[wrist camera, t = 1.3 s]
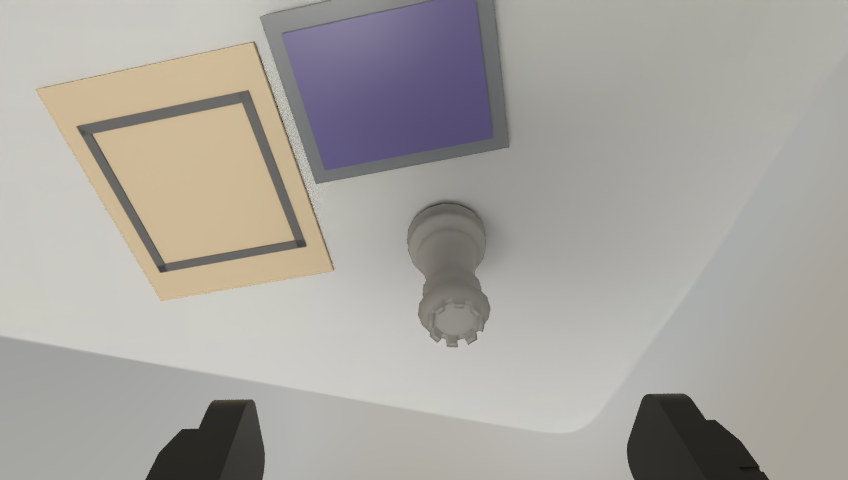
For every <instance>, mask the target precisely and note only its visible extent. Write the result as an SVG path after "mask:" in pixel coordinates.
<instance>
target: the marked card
mask: <svg viewBox="0 0 848 480" xmlns="http://www.w3.org/2000/svg"><path fill="white" fill-rule="evenodd" d="M36 92H37V93H38V95H39V97H40V99H41V100H42V102H43V104H44V105H45V107H46V109H47V110H48V112H49V114H50V115H51V117H52V119H53V120H54V122H55V124H56V125H57V127H58V129H59V131H60V132H61V134H62V136H63V137H64V139H65V141H66V142H67V144H68V146H69V147H70V149H71V151H72V152H73V154H74V156H75V157H76V159H77V161H78V162H79V164H80V166H81V168H82V169H83V171H84V173H85V174H86V176H87V178H88V179H89V181H90V183H91V184H92V186H93V188H94V189H95V191H96V193H97V194H98V196H99V198H100V200H101V201H102V203H103V205H104V206H105V208H106V210H107V211H108V213H109V215H110V216H111V218H112V220H113V221H114V223H115V225H116V226H117V228H118V230H119V231H120V233H121V235H122V237H123V238H124V240H125V242H126V243H127V245H128V247H129V248H130V250H131V252H132V253H133V255H134V257H135V258H136V260H137V262H138V263H139V265H140V267H141V268H142V270H143V272H144V274H145V275H146V277H147V279H148V280H149V282H150V284H151V285H152V287H153V289H154V290H155V292H156V294H157V295H158V297H159V299H160V300H161V301H164V300H170V299H176V298H181V297H187V296H193V295H199V294H204V293H210V292H216V291H222V290H227V289H233V288H239V287H245V286H250V285H256V284H262V283H268V282H273V281H279V280H285V279H290V278H296V277H302V276H308V275H313V274H319V273H325V272H331V271H333V270H334V268H333V266H332V263H331V260H330V257H329V254H328V251H327V248H326V246H325V243H324V240H323V237H322V234H321V231H320V228H319V226H318V223H317V220H316V217H315V214H314V211H313V208H312V206H311V203H310V200H309V197H308V194H307V191H306V188H305V186H304V183H303V180H302V177H301V174H300V171H299V168H298V166H297V163H296V160H295V157H294V154H293V151H292V148H291V146H290V143H289V140H288V137H287V134H286V131H285V128H284V126H283V123H282V120H281V117H280V114H279V111H278V108H277V106H276V103H275V100H274V97H273V94H272V91H271V88H270V86H269V83H268V80H267V77H266V74H265V71H264V68H263V66H262V63H261V60H260V57H259V54H258V51H257V48H256V46H255V43H254V42H251V43H247V44H242V45H237V46H233V47H228V48H224V49H219V50H214V51H210V52H205V53H201V54H196V55H191V56H187V57H182V58H178V59H173V60H169V61H164V62H159V63H155V64H150V65H146V66H141V67H136V68H132V69H127V70H123V71H118V72H114V73H109V74H104V75H100V76H95V77H91V78H86V79H81V80H77V81H72V82H68V83H63V84H58V85H54V86H49V87H45V88H40V89H37V90H36Z"/></svg>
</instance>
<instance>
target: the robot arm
mask: <svg viewBox="0 0 848 480" xmlns="http://www.w3.org/2000/svg"><path fill="white" fill-rule="evenodd" d="M627 456H628V463H629V467H630V470H631V473H632V475H633V478H634V479H635V480H769V479H768V478H767V476H766V475H765V473H764V472H761V471H760V470H759V466H758V464H757V463H756V461H755V460H754V459H753V457H752V456H751V455H750V453H749V452H748V450H747V449H746V448H745V446H744V445H743V444H742V442H741V441H740V440H739V439H737V438H736V437H735V436H734V435H733V434H731V433H730V432H729V431H728V430H726V429H725V428H724V427H723V426H722V425H720V424H719V423H718V422H717V421H716V420H706V419H705V418H704V416H703V415H702V414H701V412H700V411H699V409H698V408H697V407H696V405H695V404H694V402H693V401H692V399H691V398H690V397H689V396H687V395H685V394H647V395H645V396H644V397H643V399H642V401H641V404H640V407H639V410H638V413H637V416H636V419H635V422H634V425H633V428H632V431H631V434H630V437H629V440H628V444H627ZM264 463H265V452H264V445H263V441H262V436H261V430H260V425H259V421H258V415H257V410H256V406H255V402H254V401H253V400H214V401H212V403H211V404H210V405H209V407H208V409H207V411H206V413H205V415H204V418H203V420H202V422H201V424H200V427H199V429H182V430H181V431H180V432H179V433H178V434H177V435H176V436H175V437H174V438H173V439H172V440H171V441H170V442H169V443H168V444H167V445H166V446H165V447H164V448H163V449H162V450H161V451H160V452H159V454H158V456H157V458H156V460H155V462H154V464H153V466H152V468H151V470H150V472H149V474H148V476H147V478H146V480H262V479H263V473H264Z"/></svg>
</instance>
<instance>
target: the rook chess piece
mask: <svg viewBox="0 0 848 480" xmlns="http://www.w3.org/2000/svg"><path fill="white" fill-rule="evenodd" d="M407 243H408V246H409V248H408V251H409V254H410V256H411V259H412V261H413V264H414V265H415V266H416V267H417V268H418V269H419V270H420V271H421V272H422V273H423V274H424V275H425V278H426V282H425V284H424V287H423V299H422V300H421V302H420V303H419V311H418V316H419V318H420V321H421V323H422V325H423V326H424V327H425V328H426V329H427V330H428V331H429V332H430V337H431V338H433V339H434V340H435V341H436V342H437V343H438V342H439V341H440V340H441V338H444V339H446V342H447V347H458V344H457V340H460V339H464V338H465V340H466V342H467V343H468V344H470V343H472V342H473V341H475V340H477V335H476V332H477V331H483V329H484V324H485V323H486V321H487V320H488V318H489V313H490V305H489V302H488V299H487V297H486V296H485V295H484V294H483V292H482V291H481V286H480V282H479V280H478V279H477V278H476V276H475V269H476V268H477V267H478V265H479V264H480V262H481V261H482V259H483V256H484V251H485V246H486V241H485V232H484V228H483V225H482V222H481V221H480V219H479V218H478V217H477V216H476V215H475V214H474V213H473V212H472V211H471V210H469V209H466V208H464V207H462V206H460V205H455V204H440V205H436V206H433V207H429V208H427V209H425V210H424V211H423V212H422V213H420V214H419V215H418V216H416V217H415V219H414V220H413V222H412V224H411V226H410V227H409V229H408V239H407Z"/></svg>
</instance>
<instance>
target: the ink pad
mask: <svg viewBox="0 0 848 480" xmlns="http://www.w3.org/2000/svg"><path fill="white" fill-rule="evenodd" d="M260 19H261V22H262V25H263V28H264V31H265V34H266V37H267V40H268V43H269V46H270V49H271V52H272V55H273V58H274V61H275V64H276V67H277V70H278V73H279V76H280V79H281V82H282V85H283V88H284V91H285V94H286V97H287V99H288V102H289V105H290V108H291V111H292V114H293V117H294V120H295V123H296V126H297V129H298V132H299V135H300V138H301V141H302V144H303V147H304V150H305V153H306V156H307V159H308V162H309V165H310V168H311V171H312V174H313V177H314V180H315V183H316V184H319V183H324V182H329V181H334V180H340V179H345V178H350V177H355V176H361V175H366V174H371V173H376V172H382V171H387V170H392V169H397V168H403V167H408V166H413V165H419V164H424V163H429V162H434V161H440V160H445V159H450V158H455V157H461V156H466V155H471V154H476V153H482V152H487V151H492V150H497V149H503V148H508V147H509V141H508V132H507V123H506V114H505V104H504V95H503V86H502V77H501V68H500V59H499V50H498V41H497V31H496V22H495V13H494V4H493V0H328V1H324V2H319V3H315V4H310V5H306V6H301V7H297V8H292V9H288V10H283V11H279V12H274V13H270V14H266V15H263V16H261V17H260Z"/></svg>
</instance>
